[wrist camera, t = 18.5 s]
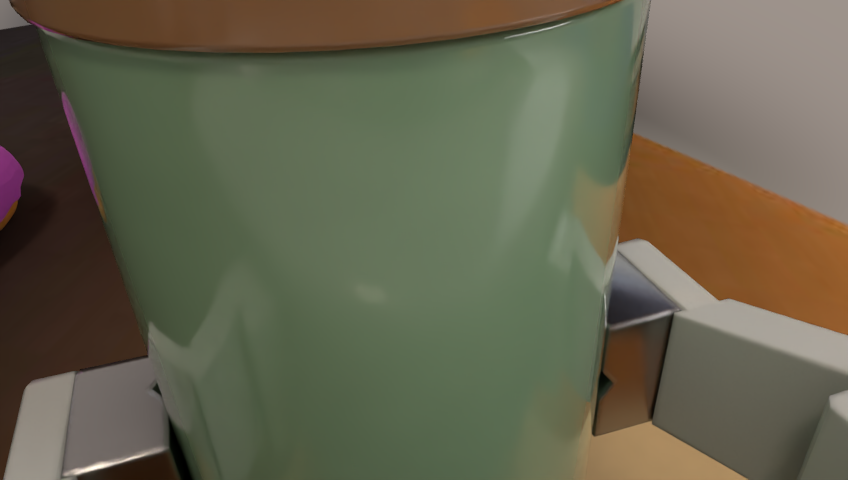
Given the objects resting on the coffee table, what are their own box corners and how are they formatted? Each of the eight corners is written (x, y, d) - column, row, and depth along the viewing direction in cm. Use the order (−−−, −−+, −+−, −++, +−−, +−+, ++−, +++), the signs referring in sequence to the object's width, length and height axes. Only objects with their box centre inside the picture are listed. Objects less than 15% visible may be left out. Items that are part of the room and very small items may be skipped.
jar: (489, 515, 15) (504, -211, 8) (618, 781, 11) (902, -249, 4) (254, 593, 13) (12, -192, 6) (298, 930, 9) (-236, -215, 2)
